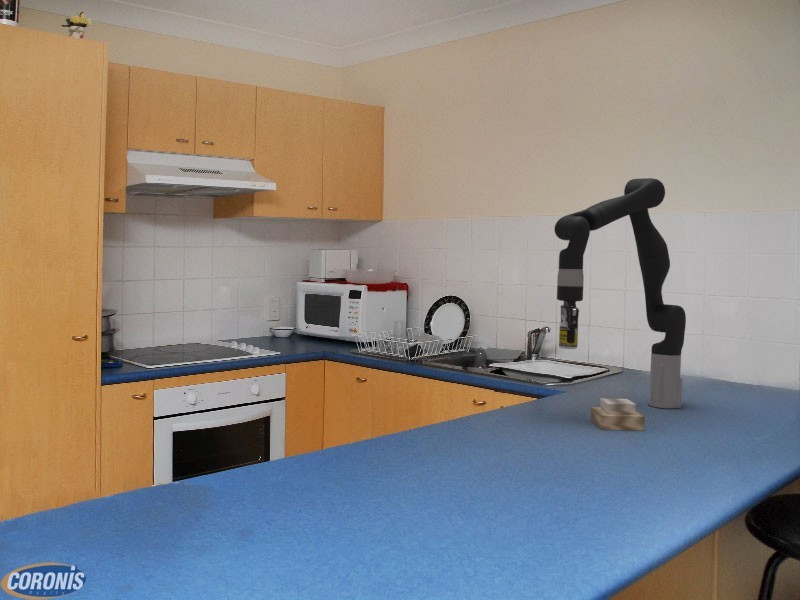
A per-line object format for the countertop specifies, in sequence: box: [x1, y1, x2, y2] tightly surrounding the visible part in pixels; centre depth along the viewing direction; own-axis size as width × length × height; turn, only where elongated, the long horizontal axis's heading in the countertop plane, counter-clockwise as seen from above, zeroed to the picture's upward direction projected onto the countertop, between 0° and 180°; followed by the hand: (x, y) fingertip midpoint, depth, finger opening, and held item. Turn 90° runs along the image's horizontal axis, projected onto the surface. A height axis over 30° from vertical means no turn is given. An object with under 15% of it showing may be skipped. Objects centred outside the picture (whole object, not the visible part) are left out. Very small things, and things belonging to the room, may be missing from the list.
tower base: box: [590, 397, 646, 432], centre depth 224 cm, size 12×12×7 cm
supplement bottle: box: [558, 315, 579, 350], centre depth 230 cm, size 5×5×10 cm
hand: (568, 341), depth 231 cm, fingers closed on supplement bottle, 5 cm apart
